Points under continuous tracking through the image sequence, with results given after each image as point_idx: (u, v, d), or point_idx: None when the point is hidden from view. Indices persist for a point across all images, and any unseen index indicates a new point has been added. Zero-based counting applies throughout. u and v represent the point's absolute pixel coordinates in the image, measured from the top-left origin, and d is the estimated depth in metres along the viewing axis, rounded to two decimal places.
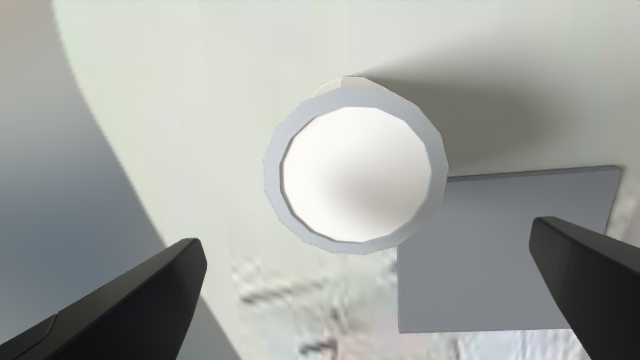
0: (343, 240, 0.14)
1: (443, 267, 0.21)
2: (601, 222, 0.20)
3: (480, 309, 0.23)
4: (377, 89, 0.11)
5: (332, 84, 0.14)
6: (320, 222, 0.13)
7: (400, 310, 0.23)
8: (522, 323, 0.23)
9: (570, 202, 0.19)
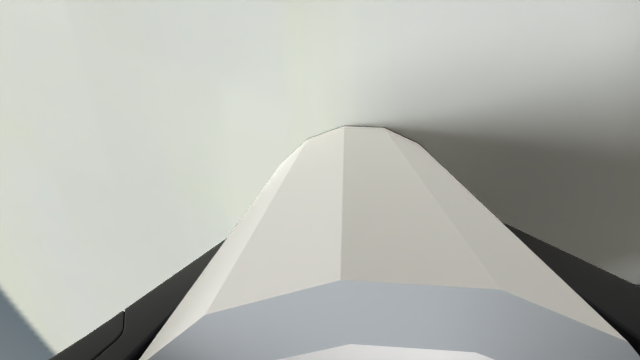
0: None
1: None
2: None
3: None
4: (486, 294, 0.03)
5: (321, 174, 0.06)
6: None
7: None
8: None
9: None
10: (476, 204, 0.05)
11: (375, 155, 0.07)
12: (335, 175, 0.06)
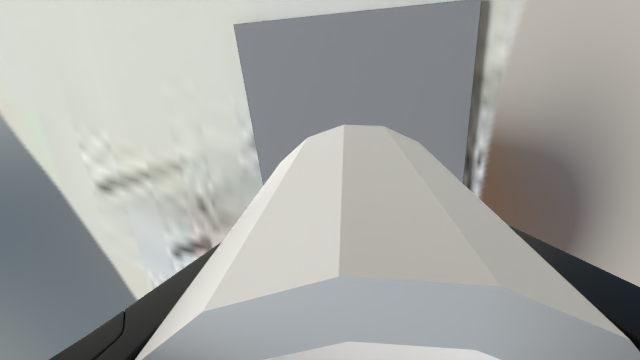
0: None
1: (302, 136, 0.19)
2: (467, 73, 0.17)
3: None
4: (486, 291, 0.03)
5: (320, 172, 0.06)
6: None
7: None
8: None
9: (429, 45, 0.17)
10: (476, 202, 0.05)
11: (375, 153, 0.07)
12: (334, 173, 0.05)
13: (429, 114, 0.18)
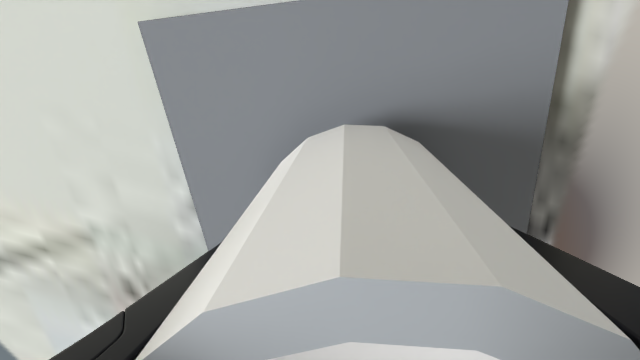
0: None
1: None
2: (541, 96, 0.10)
3: None
4: (487, 292, 0.03)
5: (321, 172, 0.06)
6: None
7: None
8: None
9: (476, 51, 0.10)
10: (477, 202, 0.05)
11: (375, 153, 0.07)
12: (335, 173, 0.05)
13: (472, 163, 0.11)
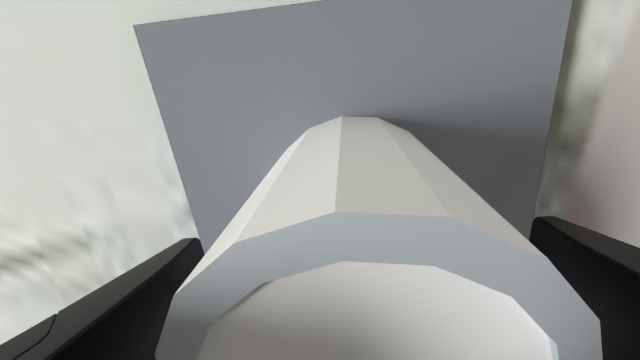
0: None
1: None
2: (543, 101, 0.10)
3: None
4: (439, 220, 0.04)
5: (321, 152, 0.07)
6: None
7: None
8: None
9: (477, 55, 0.09)
10: (451, 174, 0.06)
11: (367, 137, 0.08)
12: (332, 152, 0.07)
13: (473, 168, 0.11)
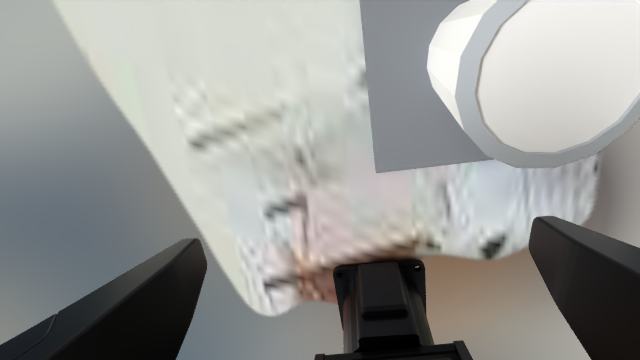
0: (534, 151, 0.12)
1: (420, 65, 0.18)
2: None
3: None
4: None
5: None
6: (511, 130, 0.12)
7: (374, 137, 0.20)
8: None
9: None
10: None
11: None
12: None
13: None
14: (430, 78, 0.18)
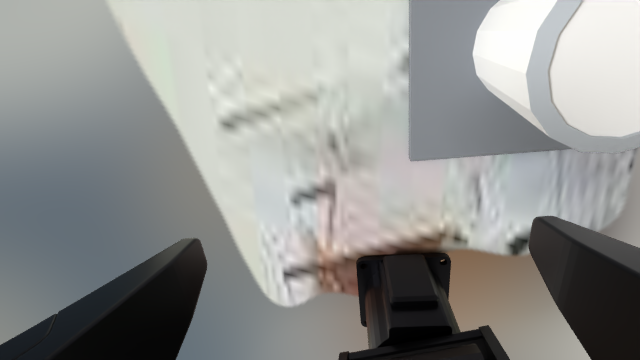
0: (599, 135, 0.12)
1: (466, 51, 0.17)
2: None
3: (510, 118, 0.19)
4: None
5: None
6: (579, 112, 0.12)
7: (412, 124, 0.19)
8: None
9: None
10: None
11: None
12: None
13: None
14: (476, 65, 0.17)
